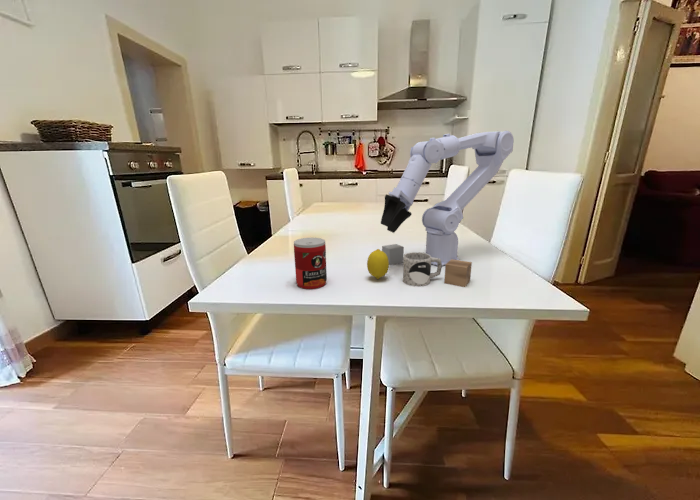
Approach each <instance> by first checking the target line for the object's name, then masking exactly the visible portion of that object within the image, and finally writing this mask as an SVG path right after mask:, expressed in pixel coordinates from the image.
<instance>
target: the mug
mask: <svg viewBox="0 0 700 500" xmlns="http://www.w3.org/2000/svg"><path fill="white" fill-rule="evenodd" d="M431 262H437V264H438V266H437V269H436V271H435V272H431V271H432V270H431V269H432V264H431ZM441 272H442V264H441V259H439V258H433V257H431V256H430V255H428V254H426V252H408V253H404V256H403V272H402V282H403V283H404V284H406V285H408V286H410V287H424V286H428V285H430V283H431V279H433V278H435V277H438V276H440V275H441Z"/></svg>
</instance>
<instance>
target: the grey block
mask: <svg viewBox="0 0 700 500" xmlns="http://www.w3.org/2000/svg"><path fill="white" fill-rule="evenodd" d="M404 248H405V247H404V246H403V245H400V244H398V243H393V244H386V245H382V246H381V251H383V252H384V253H385V254H386V255H387V257H388V261H389V266H393V265H399V264H404V255H405V253H404V250H405V249H404Z"/></svg>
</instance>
